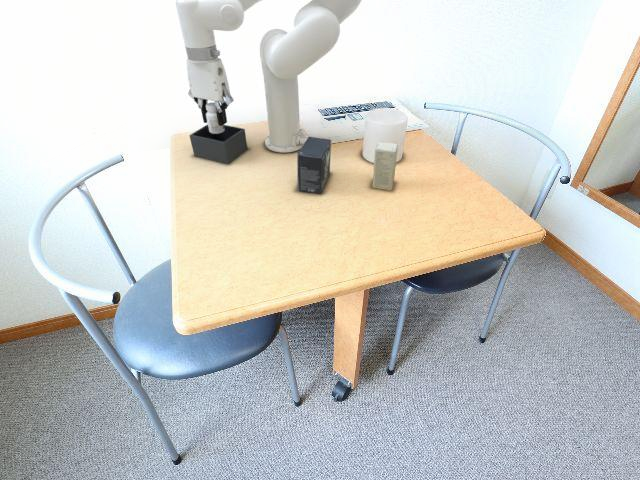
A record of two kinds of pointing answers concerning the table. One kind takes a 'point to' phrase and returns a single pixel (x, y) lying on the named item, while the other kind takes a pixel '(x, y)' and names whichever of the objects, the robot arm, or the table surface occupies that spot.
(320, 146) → the box
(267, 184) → the table surface
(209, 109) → the pill bottle
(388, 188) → the box
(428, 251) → the table surface
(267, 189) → the table surface
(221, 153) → the bin
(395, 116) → the cup
